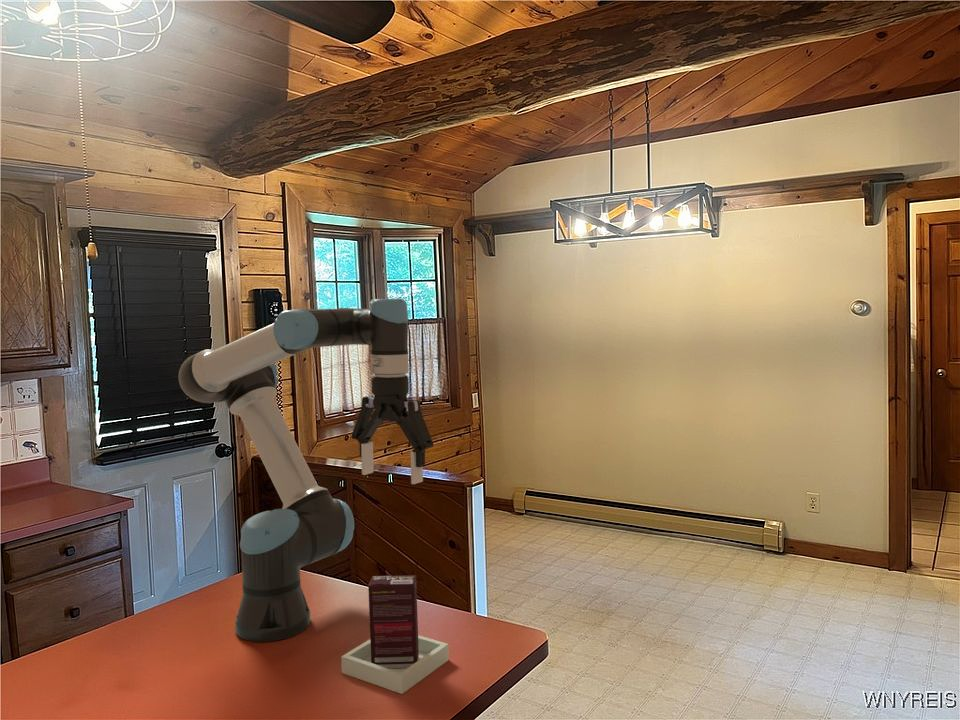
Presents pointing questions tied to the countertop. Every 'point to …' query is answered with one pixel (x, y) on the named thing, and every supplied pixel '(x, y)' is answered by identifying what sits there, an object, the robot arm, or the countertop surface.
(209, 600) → the countertop surface
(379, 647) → the supplement box
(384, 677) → the tray
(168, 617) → the countertop surface
